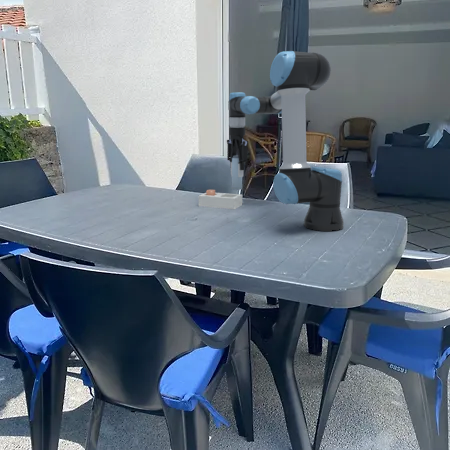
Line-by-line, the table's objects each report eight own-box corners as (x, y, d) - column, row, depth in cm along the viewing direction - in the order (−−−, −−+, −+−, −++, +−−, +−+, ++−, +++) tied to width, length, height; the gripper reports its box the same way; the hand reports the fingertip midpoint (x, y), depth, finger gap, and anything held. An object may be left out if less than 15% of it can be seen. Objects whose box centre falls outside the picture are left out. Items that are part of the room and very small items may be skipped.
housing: (234, 211, 194) (234, 198, 192) (198, 208, 201) (198, 195, 199) (242, 207, 203) (242, 194, 201) (207, 204, 209) (207, 191, 208)
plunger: (213, 202, 200) (213, 191, 199) (205, 202, 202) (204, 190, 200) (216, 201, 204) (216, 189, 203) (208, 200, 206) (208, 189, 204)
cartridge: (244, 189, 208) (244, 155, 203) (236, 190, 205) (236, 156, 201) (237, 187, 211) (238, 155, 207) (229, 188, 209) (229, 155, 204)
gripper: (255, 127, 196) (255, 177, 202) (231, 126, 209) (231, 173, 216) (243, 127, 191) (242, 179, 197) (219, 126, 205) (219, 174, 211)
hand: (237, 176), depth 206 cm, fingers closed on cartridge, 5 cm apart
